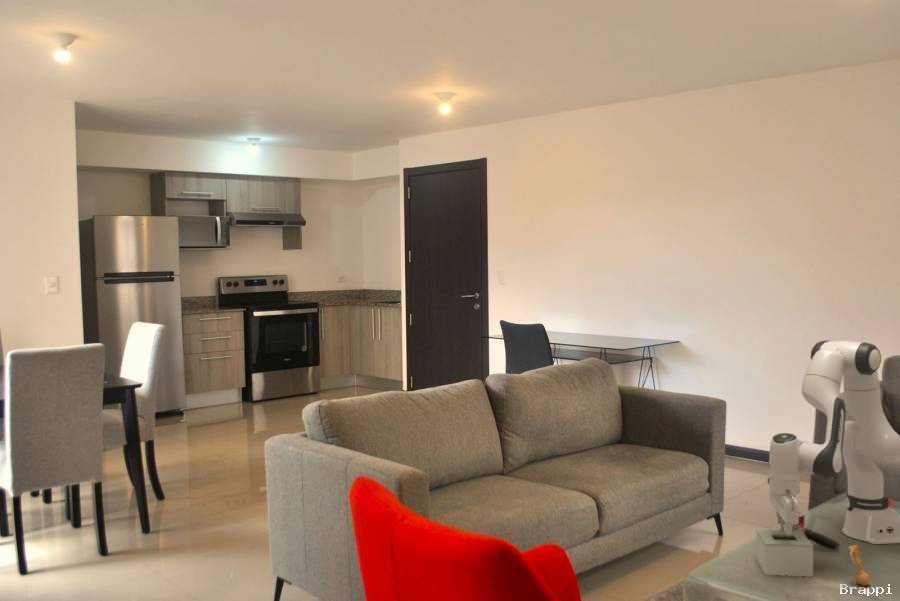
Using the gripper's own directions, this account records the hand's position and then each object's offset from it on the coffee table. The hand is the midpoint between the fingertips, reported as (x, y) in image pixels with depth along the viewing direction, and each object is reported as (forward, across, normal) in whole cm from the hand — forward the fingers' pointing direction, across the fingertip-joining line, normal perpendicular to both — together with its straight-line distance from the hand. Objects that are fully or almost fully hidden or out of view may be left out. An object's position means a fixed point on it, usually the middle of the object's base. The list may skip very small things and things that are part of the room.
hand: (784, 528), depth 250 cm
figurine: (+13, -10, -19) cm, 25 cm away
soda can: (+13, +17, -7) cm, 23 cm away
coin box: (+13, 0, 0) cm, 13 cm away
